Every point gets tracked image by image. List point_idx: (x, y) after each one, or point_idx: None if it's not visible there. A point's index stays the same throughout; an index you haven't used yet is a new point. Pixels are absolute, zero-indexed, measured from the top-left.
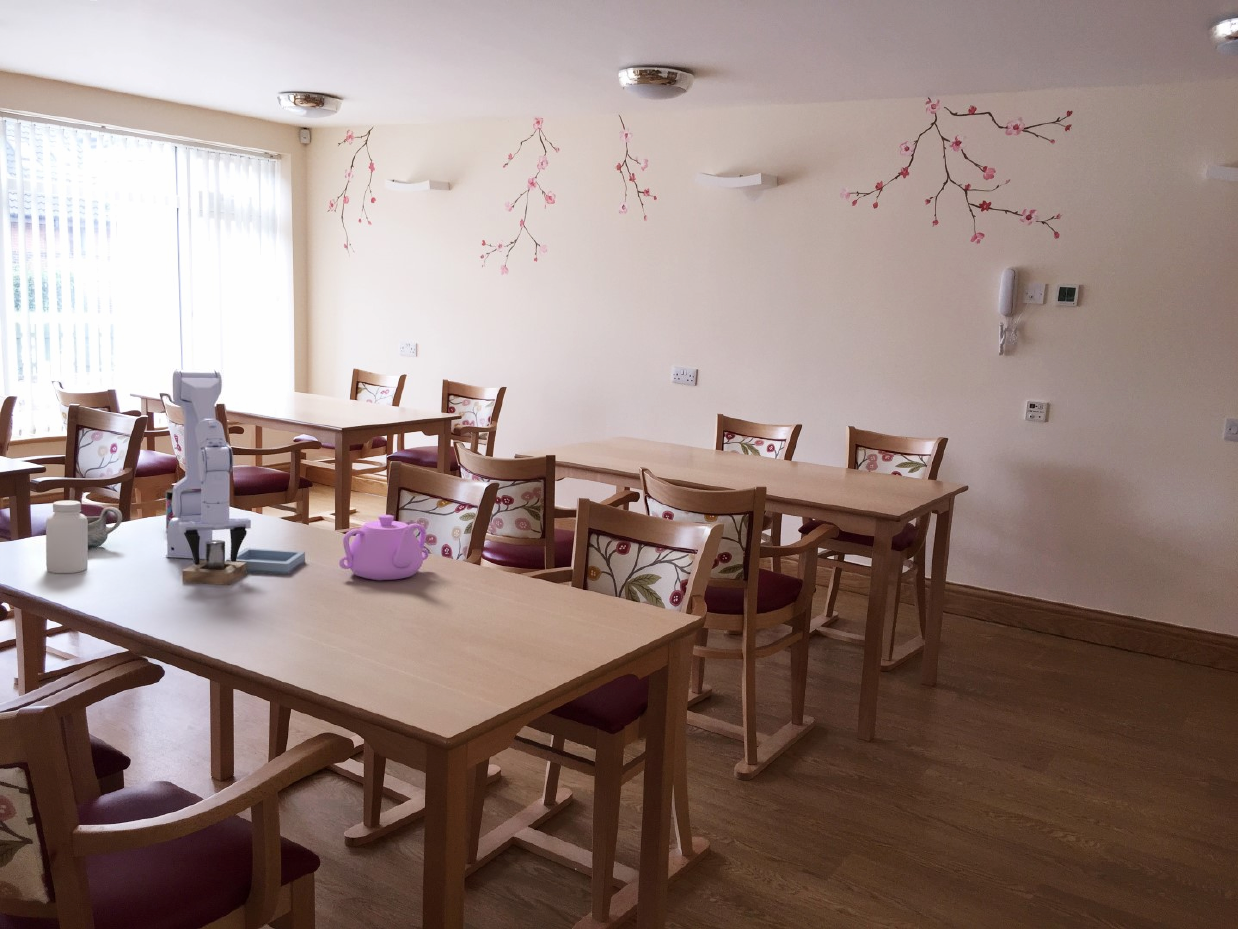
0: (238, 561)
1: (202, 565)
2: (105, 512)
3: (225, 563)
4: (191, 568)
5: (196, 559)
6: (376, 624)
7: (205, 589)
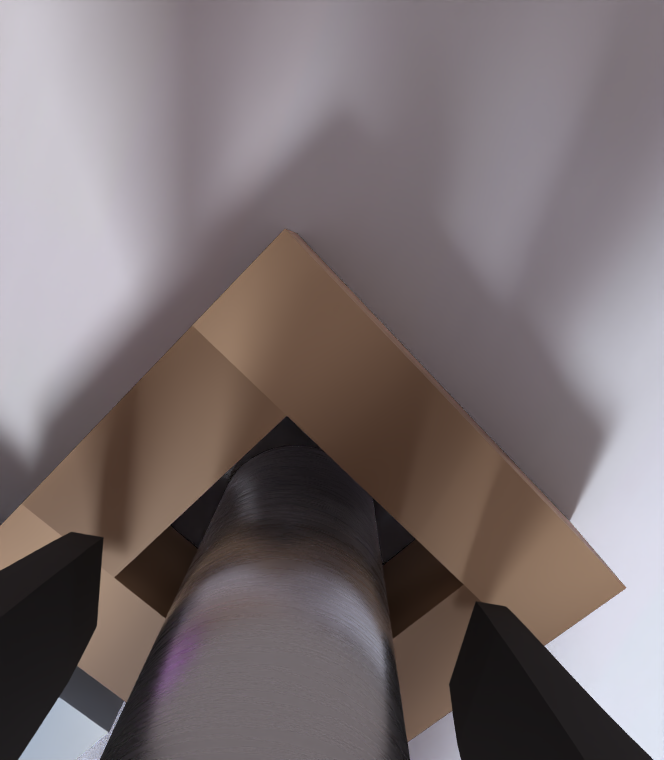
0: None
1: None
2: None
3: (156, 633)
4: None
5: (539, 649)
6: None
7: (539, 201)
